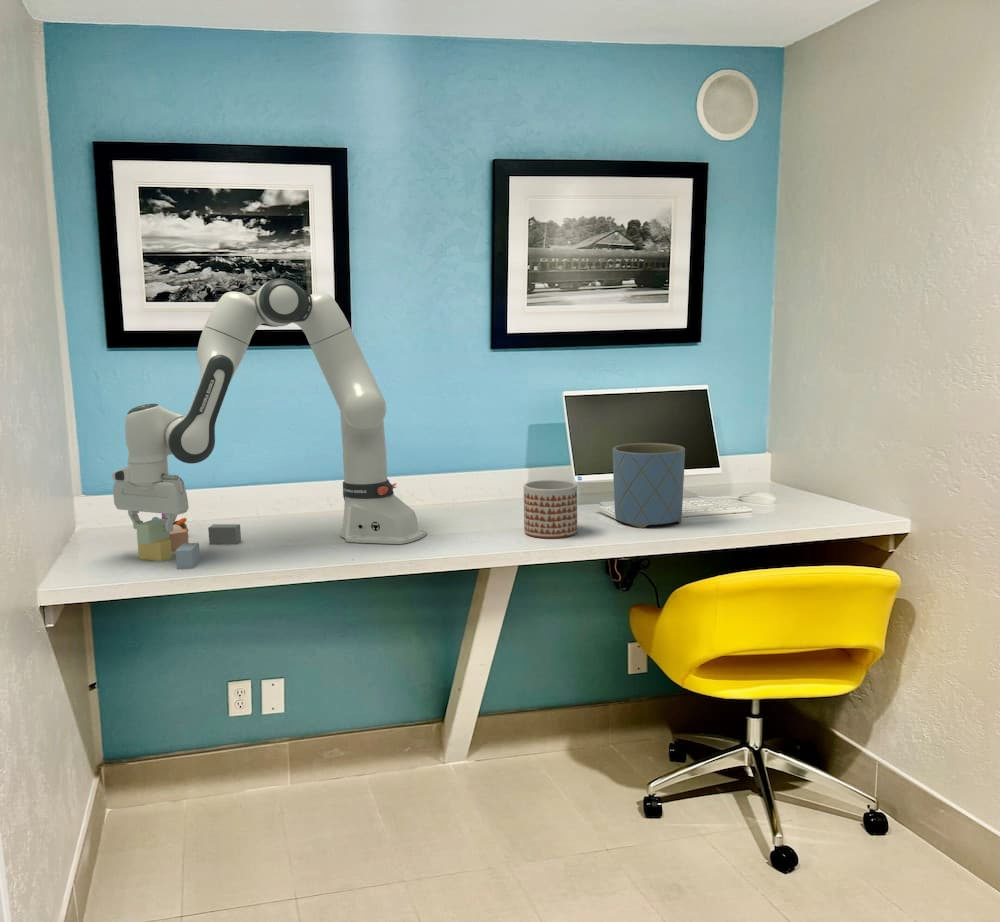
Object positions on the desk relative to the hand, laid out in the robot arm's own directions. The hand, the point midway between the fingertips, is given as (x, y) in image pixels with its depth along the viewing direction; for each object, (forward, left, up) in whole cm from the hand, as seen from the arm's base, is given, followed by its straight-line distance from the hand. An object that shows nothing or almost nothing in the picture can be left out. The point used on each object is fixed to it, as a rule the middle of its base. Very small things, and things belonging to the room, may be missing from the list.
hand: (153, 529), depth 228 cm
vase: (-80, -56, -7) cm, 98 cm away
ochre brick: (0, 0, -7) cm, 7 cm away
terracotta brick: (+2, -8, -7) cm, 11 cm away
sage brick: (0, 0, -2) cm, 3 cm away
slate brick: (-12, +2, -7) cm, 14 cm away
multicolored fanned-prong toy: (+12, -17, -7) cm, 22 cm away
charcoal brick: (-6, -18, -7) cm, 20 cm away
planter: (-100, -77, -7) cm, 126 cm away
